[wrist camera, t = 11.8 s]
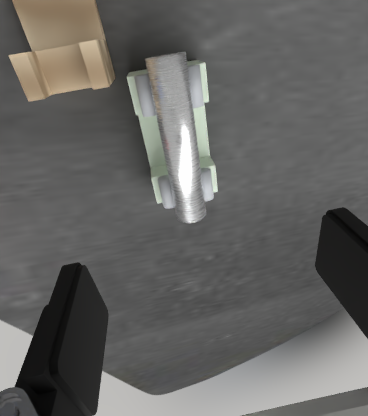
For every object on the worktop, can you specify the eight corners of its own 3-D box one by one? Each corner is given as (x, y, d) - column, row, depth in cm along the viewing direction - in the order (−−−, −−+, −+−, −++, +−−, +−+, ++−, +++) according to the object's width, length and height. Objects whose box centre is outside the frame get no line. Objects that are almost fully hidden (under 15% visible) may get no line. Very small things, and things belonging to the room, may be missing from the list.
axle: (143, 58, 20) (146, 60, 18) (181, 51, 21) (189, 52, 18) (174, 209, 28) (179, 226, 26) (201, 203, 28) (209, 218, 26)
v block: (129, 72, 25) (125, 79, 20) (196, 60, 25) (208, 63, 20) (155, 186, 31) (157, 210, 27) (209, 175, 31) (220, 198, 27)
